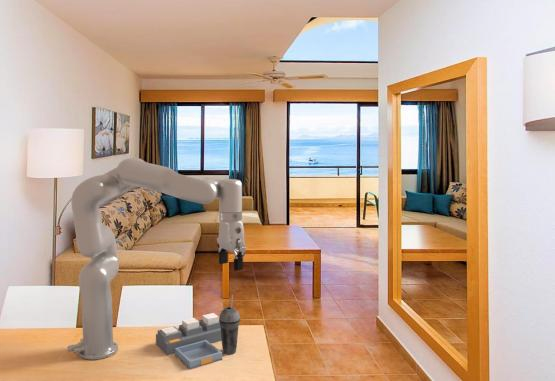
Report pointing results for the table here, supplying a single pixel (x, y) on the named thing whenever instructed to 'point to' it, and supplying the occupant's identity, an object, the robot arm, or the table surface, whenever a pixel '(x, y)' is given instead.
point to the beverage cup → (229, 329)
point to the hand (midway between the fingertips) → (230, 266)
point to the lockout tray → (198, 354)
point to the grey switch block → (191, 333)
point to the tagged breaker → (169, 331)
